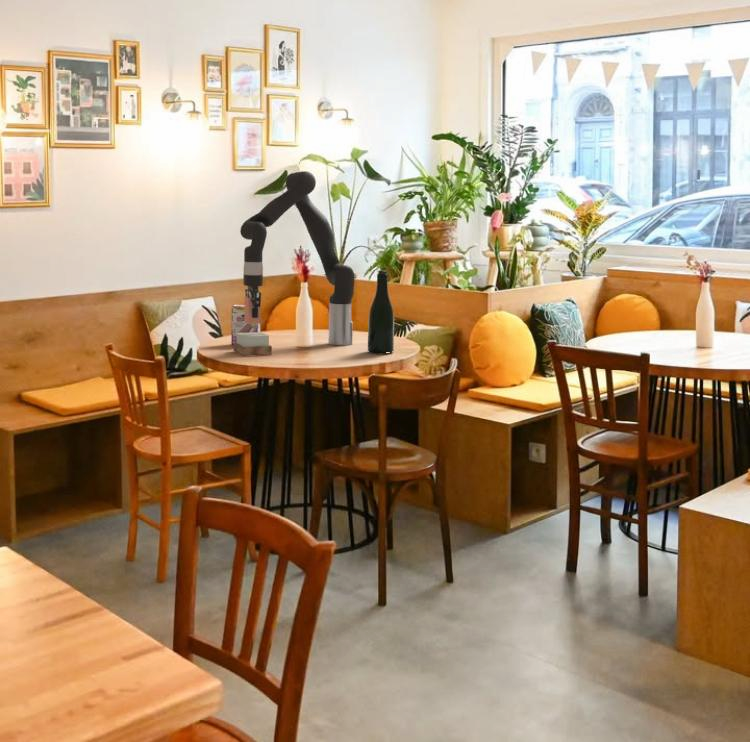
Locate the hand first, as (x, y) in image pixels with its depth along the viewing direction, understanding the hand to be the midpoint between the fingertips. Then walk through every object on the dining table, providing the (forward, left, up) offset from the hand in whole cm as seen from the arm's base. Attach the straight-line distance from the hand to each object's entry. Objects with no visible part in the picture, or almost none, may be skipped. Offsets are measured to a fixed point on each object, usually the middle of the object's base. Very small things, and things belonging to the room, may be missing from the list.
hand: (252, 316), depth 420 cm
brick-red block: (0, 0, -2) cm, 2 cm away
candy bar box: (-3, -20, -15) cm, 25 cm away
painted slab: (0, 0, -11) cm, 11 cm away
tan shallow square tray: (0, 0, -15) cm, 15 cm away
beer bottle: (-50, +11, -15) cm, 53 cm away
